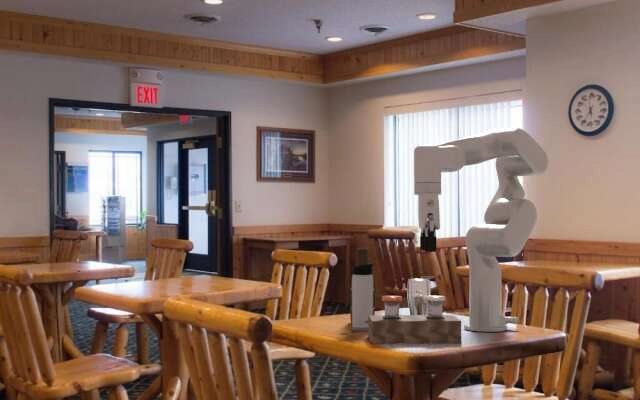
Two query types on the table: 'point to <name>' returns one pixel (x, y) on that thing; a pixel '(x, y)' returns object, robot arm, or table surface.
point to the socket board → (414, 329)
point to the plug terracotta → (391, 306)
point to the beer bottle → (361, 260)
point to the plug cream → (435, 306)
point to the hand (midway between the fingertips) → (428, 250)
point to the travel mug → (362, 296)
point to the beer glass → (418, 296)
